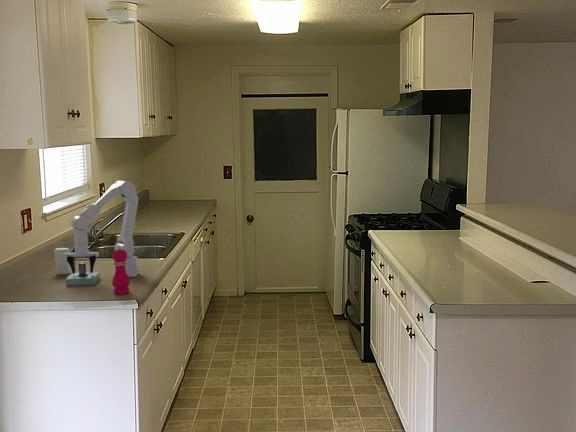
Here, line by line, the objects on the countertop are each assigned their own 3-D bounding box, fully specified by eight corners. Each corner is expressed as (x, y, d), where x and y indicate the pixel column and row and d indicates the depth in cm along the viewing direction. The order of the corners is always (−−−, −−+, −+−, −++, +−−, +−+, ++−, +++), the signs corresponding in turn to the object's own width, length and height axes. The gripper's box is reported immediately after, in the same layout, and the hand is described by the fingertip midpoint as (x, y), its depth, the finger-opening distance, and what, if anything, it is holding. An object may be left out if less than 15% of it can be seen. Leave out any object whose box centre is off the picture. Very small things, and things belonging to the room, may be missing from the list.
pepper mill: (130, 294, 260) (128, 246, 257) (112, 295, 258) (110, 248, 255) (130, 290, 267) (128, 243, 264) (112, 291, 265) (110, 244, 262)
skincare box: (71, 272, 300) (69, 247, 298) (68, 274, 295) (67, 249, 294) (57, 272, 299) (56, 247, 297) (55, 274, 295) (53, 249, 293)
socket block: (99, 278, 287) (99, 271, 287) (94, 284, 276) (94, 278, 275) (72, 279, 286) (72, 272, 286) (66, 285, 274) (65, 279, 274)
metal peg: (86, 280, 282) (85, 262, 281) (86, 281, 279) (85, 264, 278) (80, 280, 282) (78, 263, 280) (79, 282, 279) (78, 264, 278)
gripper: (62, 245, 274) (63, 275, 276) (96, 244, 275) (97, 274, 277) (65, 242, 281) (67, 272, 282) (99, 241, 282) (100, 271, 284)
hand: (82, 273), depth 280 cm, fingers open, 7 cm apart
